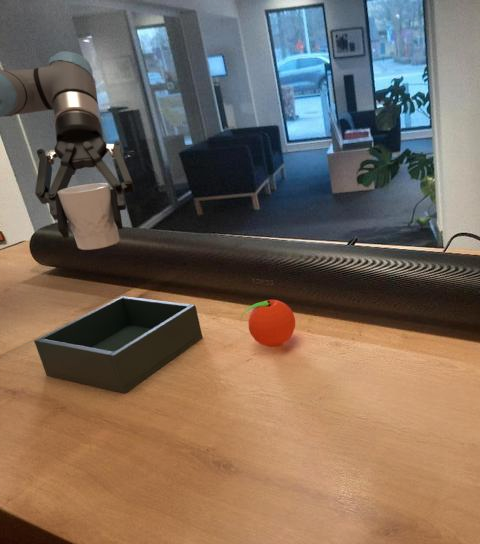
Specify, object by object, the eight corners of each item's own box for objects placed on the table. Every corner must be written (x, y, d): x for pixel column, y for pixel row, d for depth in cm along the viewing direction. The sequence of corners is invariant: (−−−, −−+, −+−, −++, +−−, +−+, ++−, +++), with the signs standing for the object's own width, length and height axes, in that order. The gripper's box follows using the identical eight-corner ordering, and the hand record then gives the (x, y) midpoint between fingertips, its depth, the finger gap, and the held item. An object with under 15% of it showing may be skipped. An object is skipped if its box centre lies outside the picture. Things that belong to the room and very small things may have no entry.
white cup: (122, 245, 85) (107, 188, 81) (71, 254, 82) (53, 195, 79) (124, 234, 92) (110, 181, 88) (77, 242, 89) (61, 187, 86)
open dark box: (46, 375, 72) (33, 340, 69) (130, 326, 85) (122, 295, 83) (125, 393, 66) (113, 355, 63) (203, 337, 79) (195, 304, 77)
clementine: (242, 358, 72) (233, 314, 69) (248, 336, 78) (240, 295, 75) (297, 352, 72) (291, 308, 69) (298, 330, 78) (292, 289, 76)
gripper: (142, 132, 98) (160, 230, 89) (23, 144, 91) (30, 251, 83) (133, 104, 91) (152, 207, 83) (5, 115, 85) (11, 228, 76)
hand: (91, 229), depth 83 cm, fingers closed on white cup, 8 cm apart
